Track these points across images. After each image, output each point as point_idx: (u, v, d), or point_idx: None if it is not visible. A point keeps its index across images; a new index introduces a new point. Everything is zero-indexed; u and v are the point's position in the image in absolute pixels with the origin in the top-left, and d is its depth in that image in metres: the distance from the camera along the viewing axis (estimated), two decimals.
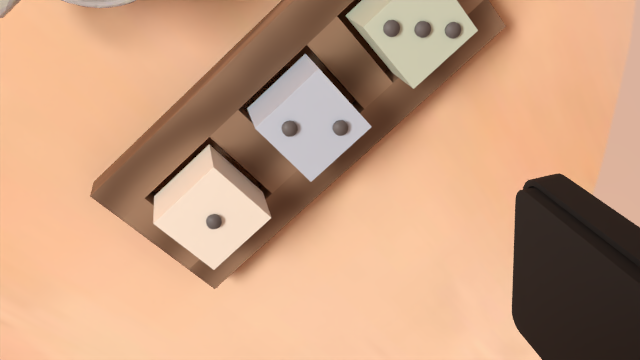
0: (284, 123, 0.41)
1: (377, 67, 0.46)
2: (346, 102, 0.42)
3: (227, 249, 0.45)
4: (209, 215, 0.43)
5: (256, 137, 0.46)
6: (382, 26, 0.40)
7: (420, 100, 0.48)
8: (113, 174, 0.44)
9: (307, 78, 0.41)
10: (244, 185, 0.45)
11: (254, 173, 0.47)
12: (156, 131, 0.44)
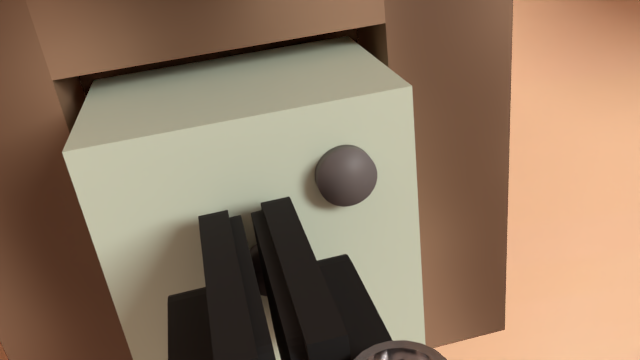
0: None
1: (144, 57, 0.12)
2: None
3: None
4: None
5: None
6: (368, 148, 0.11)
7: None
8: None
9: None
10: None
11: None
12: None
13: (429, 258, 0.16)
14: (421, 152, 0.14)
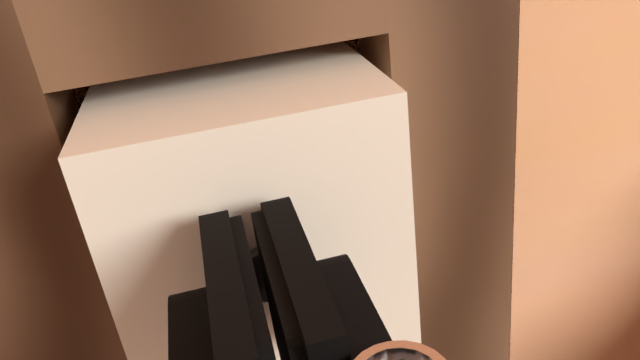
0: None
1: None
2: None
3: (123, 251, 0.11)
4: None
5: None
6: None
7: None
8: (516, 8, 0.13)
9: None
10: None
11: None
12: None
13: None
14: None
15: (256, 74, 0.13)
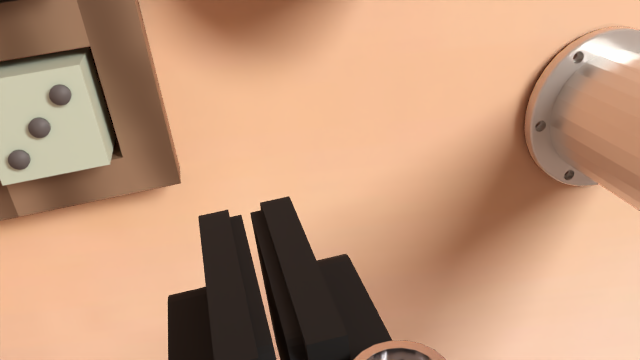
0: None
1: None
2: None
3: None
4: None
5: None
6: (68, 86, 0.33)
7: None
8: None
9: None
10: None
11: None
12: None
13: (133, 145, 0.37)
14: (117, 98, 0.35)
15: None
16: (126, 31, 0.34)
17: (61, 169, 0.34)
